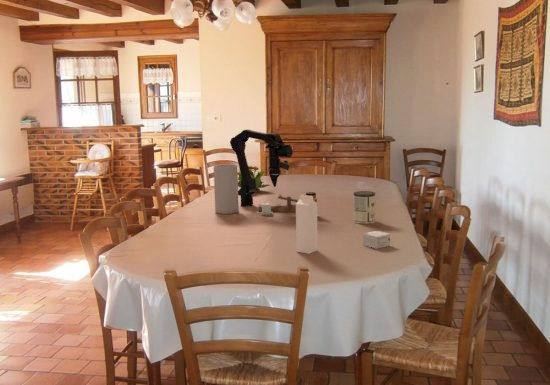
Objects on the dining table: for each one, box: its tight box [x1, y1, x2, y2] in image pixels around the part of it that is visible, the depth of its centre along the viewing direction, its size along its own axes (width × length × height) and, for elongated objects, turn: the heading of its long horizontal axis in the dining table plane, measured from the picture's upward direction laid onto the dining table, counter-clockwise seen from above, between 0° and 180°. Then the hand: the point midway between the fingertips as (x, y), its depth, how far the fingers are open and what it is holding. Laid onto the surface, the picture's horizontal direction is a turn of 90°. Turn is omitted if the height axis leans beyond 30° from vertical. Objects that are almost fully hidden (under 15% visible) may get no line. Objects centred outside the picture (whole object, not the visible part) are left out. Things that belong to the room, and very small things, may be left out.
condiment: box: [305, 191, 321, 217], centre depth 272 cm, size 7×8×12 cm
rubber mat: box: [259, 212, 274, 217], centre depth 280 cm, size 7×7×1 cm
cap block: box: [261, 202, 271, 214], centre depth 279 cm, size 4×4×5 cm
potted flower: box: [237, 165, 271, 193], centre depth 353 cm, size 25×24×18 cm
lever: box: [277, 194, 299, 203], centre depth 288 cm, size 12×2×2 cm, turn 92°
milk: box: [295, 194, 318, 255], centre depth 206 cm, size 6×6×22 cm
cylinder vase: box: [213, 163, 240, 215], centre depth 285 cm, size 12×12×25 cm
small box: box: [362, 230, 391, 250], centre depth 214 cm, size 8×8×5 cm
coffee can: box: [353, 190, 376, 225], centre depth 257 cm, size 10×10×14 cm
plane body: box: [258, 196, 296, 213], centre depth 288 cm, size 20×6×7 cm, turn 92°
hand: (274, 185), depth 291 cm, fingers open, 9 cm apart
